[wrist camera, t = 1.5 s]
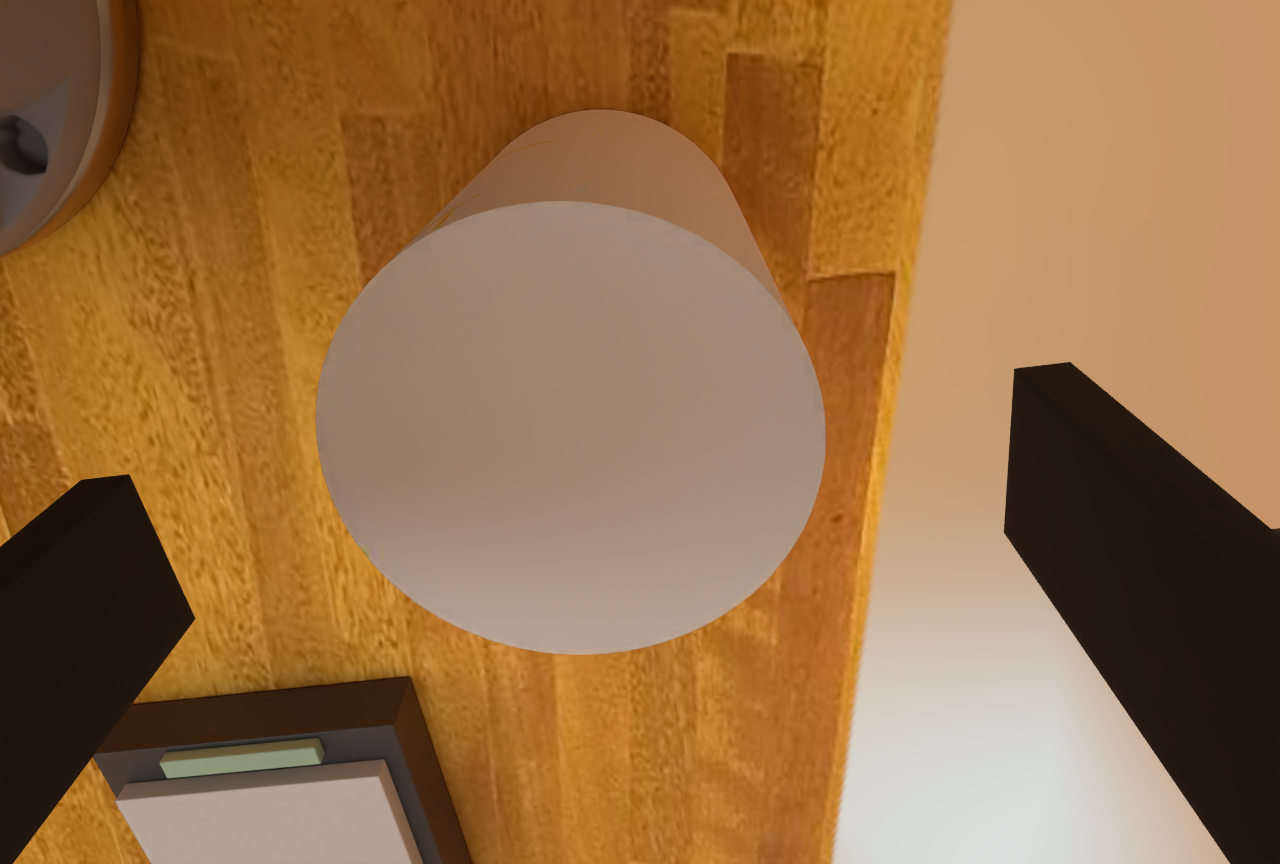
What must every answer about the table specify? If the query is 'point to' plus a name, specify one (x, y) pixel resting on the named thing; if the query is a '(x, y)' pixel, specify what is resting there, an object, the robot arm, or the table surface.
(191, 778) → the scale
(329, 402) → the cup
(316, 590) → the table surface
